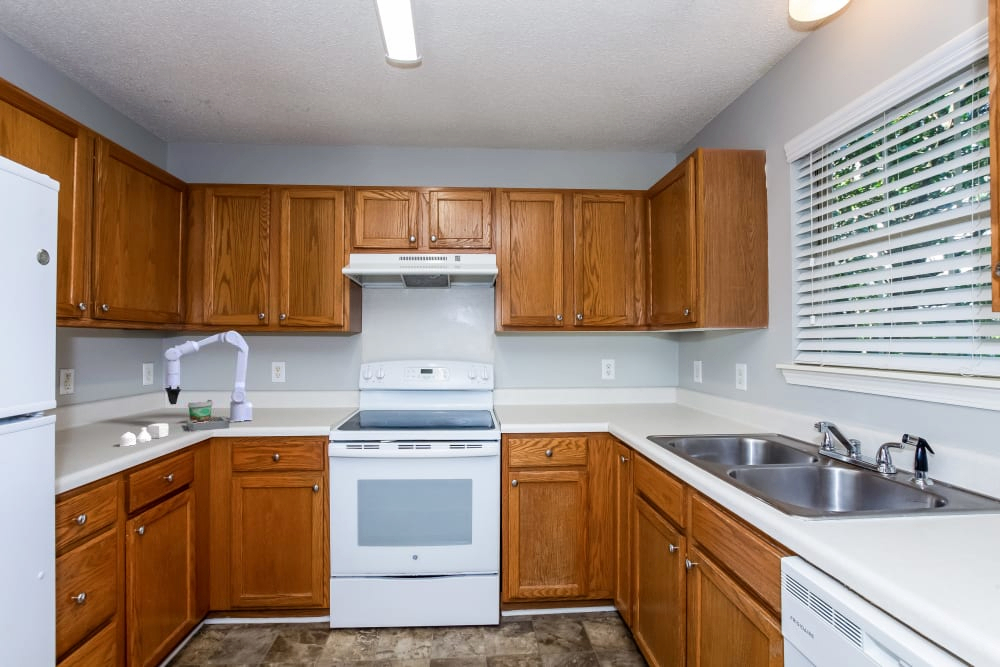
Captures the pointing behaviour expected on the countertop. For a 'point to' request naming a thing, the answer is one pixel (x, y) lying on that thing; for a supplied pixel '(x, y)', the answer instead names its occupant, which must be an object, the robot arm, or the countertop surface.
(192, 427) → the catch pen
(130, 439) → the container set
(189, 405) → the food container
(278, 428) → the countertop surface
